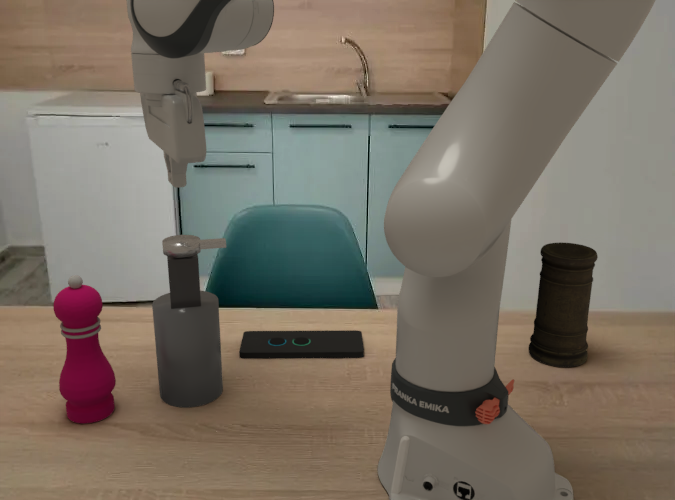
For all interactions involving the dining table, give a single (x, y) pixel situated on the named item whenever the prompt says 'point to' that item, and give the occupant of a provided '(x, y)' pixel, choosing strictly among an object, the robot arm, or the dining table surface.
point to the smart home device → (301, 344)
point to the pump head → (189, 245)
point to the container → (563, 305)
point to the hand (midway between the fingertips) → (177, 185)
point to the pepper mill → (83, 354)
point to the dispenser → (187, 338)
